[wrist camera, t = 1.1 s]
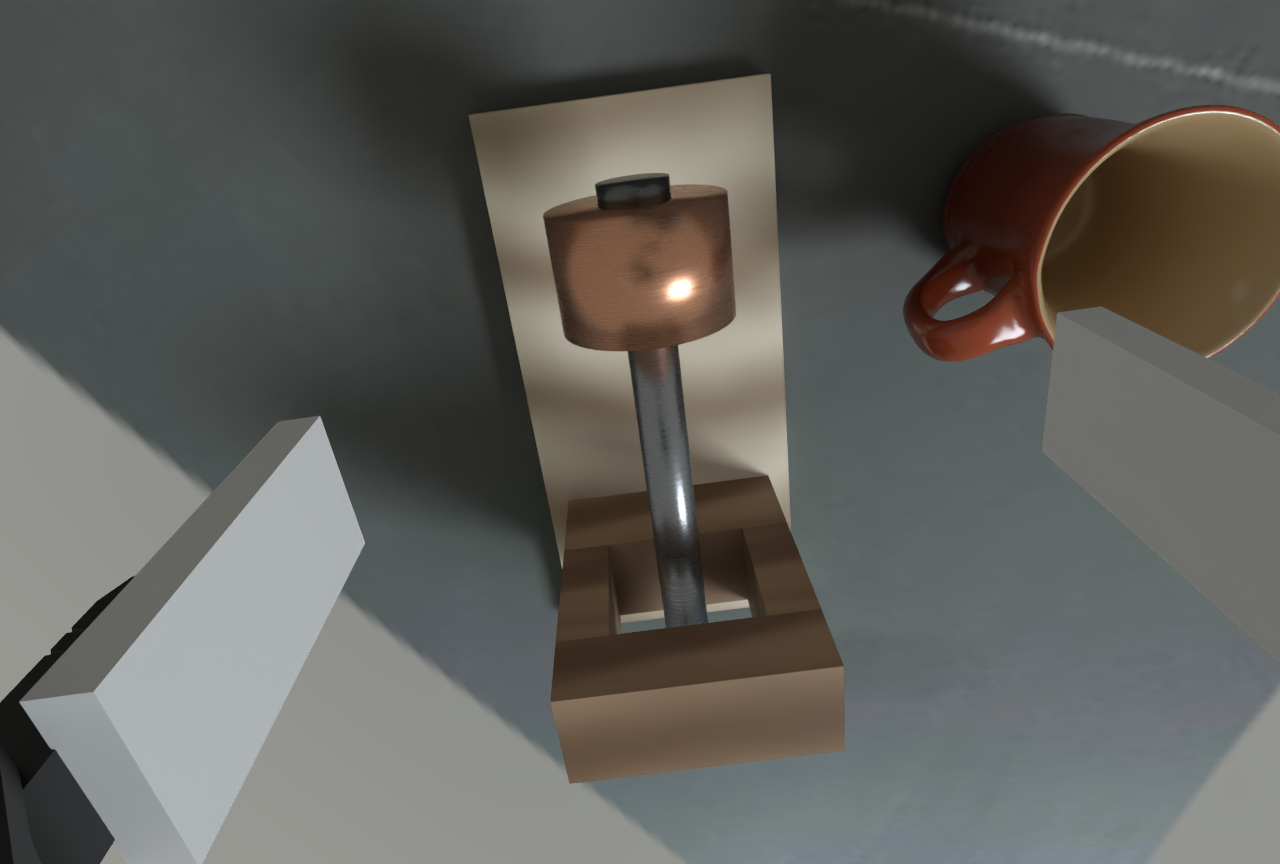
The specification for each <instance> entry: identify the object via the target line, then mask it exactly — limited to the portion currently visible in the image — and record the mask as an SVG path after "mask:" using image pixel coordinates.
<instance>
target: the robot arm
mask: <svg viewBox="0 0 1280 864" xmlns="http://www.w3.org/2000/svg"><path fill="white" fill-rule="evenodd" d="M1042 452H1043V453H1044V454H1045V455H1046V456H1048V457H1049V458H1050V459H1051V460H1052V461H1053V462H1054V463H1055V464H1057V465H1058V466H1059V467H1060V468H1061V469H1062V470H1063V471H1064V472H1066V473H1067V474H1068V475H1069V476H1070V477H1071V478H1072V479H1073V480H1074V481H1076V482H1077V483H1078V484H1079V485H1080V486H1081V487H1082V488H1083V489H1085V490H1086V491H1087V492H1088V493H1089V494H1090V495H1091V496H1092V497H1094V498H1095V499H1096V500H1097V501H1098V502H1099V503H1100V504H1101V505H1103V506H1104V507H1105V508H1106V509H1107V510H1108V511H1109V512H1110V513H1112V514H1113V515H1114V516H1115V517H1116V518H1117V519H1118V520H1119V521H1121V522H1122V523H1123V524H1124V525H1125V526H1126V527H1127V528H1128V529H1130V530H1131V531H1132V532H1133V533H1134V534H1135V535H1136V536H1137V537H1139V538H1140V539H1141V540H1142V541H1143V542H1144V543H1145V544H1146V545H1147V546H1149V547H1150V548H1151V549H1152V550H1153V551H1154V552H1155V553H1156V554H1158V555H1159V556H1160V557H1161V558H1162V559H1163V560H1164V561H1165V562H1167V563H1168V564H1169V565H1170V566H1171V567H1172V568H1173V569H1174V570H1176V571H1177V572H1178V573H1179V574H1180V575H1181V576H1182V577H1183V578H1185V579H1186V580H1187V581H1188V582H1189V583H1190V584H1191V585H1192V586H1194V587H1195V588H1196V589H1197V590H1198V591H1199V592H1200V593H1201V594H1203V595H1204V596H1205V597H1206V598H1207V599H1208V600H1209V601H1210V602H1212V603H1213V604H1214V605H1215V606H1216V607H1217V608H1218V609H1219V610H1220V611H1222V612H1223V613H1224V614H1225V615H1226V616H1227V617H1228V618H1229V619H1231V620H1232V621H1233V622H1234V623H1235V624H1236V625H1237V626H1238V627H1240V628H1241V629H1242V630H1243V631H1244V632H1245V633H1246V634H1247V635H1249V636H1250V637H1251V638H1252V639H1253V640H1254V641H1255V642H1256V643H1258V644H1259V645H1260V646H1261V647H1262V648H1263V649H1264V650H1265V651H1267V652H1268V653H1269V654H1270V655H1271V656H1272V657H1273V658H1274V659H1276V660H1277V661H1278V662H1279V663H1280V394H1279V393H1277V392H1275V391H1273V390H1271V389H1269V388H1267V387H1265V386H1263V385H1261V384H1259V383H1257V382H1255V381H1253V380H1251V379H1249V378H1247V377H1245V376H1243V375H1241V374H1239V373H1237V372H1234V371H1232V370H1230V369H1228V368H1226V367H1224V366H1222V365H1220V364H1218V363H1216V362H1214V361H1212V360H1210V359H1208V358H1206V357H1204V356H1202V355H1200V354H1198V353H1196V352H1194V351H1192V350H1189V349H1187V348H1185V347H1183V346H1181V345H1179V344H1177V343H1175V342H1173V341H1171V340H1169V339H1167V338H1165V337H1163V336H1161V335H1159V334H1157V333H1155V332H1153V331H1151V330H1149V329H1147V328H1145V327H1142V326H1140V325H1138V324H1136V323H1134V322H1132V321H1130V320H1128V319H1126V318H1124V317H1122V316H1120V315H1118V314H1116V313H1114V312H1112V311H1110V310H1108V309H1106V308H1104V307H1102V306H1100V307H1093V308H1086V309H1079V310H1072V311H1065V312H1058V313H1057V319H1056V328H1055V337H1054V346H1053V355H1052V364H1051V373H1050V382H1049V391H1048V400H1047V409H1046V418H1045V427H1044V436H1043V445H1042ZM364 544H365V542H364V539H363V536H362V533H361V530H360V528H359V525H358V522H357V519H356V516H355V513H354V511H353V508H352V505H351V502H350V499H349V496H348V494H347V491H346V488H345V485H344V482H343V479H342V477H341V474H340V471H339V468H338V465H337V462H336V460H335V457H334V454H333V451H332V448H331V445H330V443H329V440H328V437H327V434H326V431H325V428H324V426H323V423H322V420H321V417H320V416H315V417H308V418H300V419H293V420H286V421H279V422H277V423H276V424H275V425H274V427H273V428H272V429H271V430H270V431H269V432H268V433H267V434H266V435H265V436H264V437H263V438H262V440H261V441H260V442H259V443H258V444H257V445H256V446H255V447H254V448H253V449H252V450H251V451H250V453H249V454H248V455H247V456H246V457H245V458H244V459H243V460H242V461H241V462H240V463H239V464H238V465H237V467H236V468H235V469H234V470H233V471H232V472H231V473H230V474H229V475H228V476H227V477H226V478H225V480H224V481H223V482H222V483H221V484H220V485H219V486H218V487H217V488H216V489H215V490H214V491H213V493H212V494H211V495H210V496H209V497H208V498H207V499H206V500H205V501H204V502H203V503H202V505H201V506H200V507H199V508H198V509H197V510H196V511H195V512H194V513H193V514H192V515H191V516H190V517H189V518H188V520H187V521H186V522H185V523H184V524H183V525H182V526H181V527H180V528H179V529H178V530H177V532H176V533H175V534H174V535H173V536H172V537H171V538H170V539H169V540H168V541H167V543H165V544H164V546H163V547H162V548H161V549H160V550H159V551H158V552H157V553H156V554H155V555H154V556H153V557H152V559H151V560H150V561H149V562H148V563H147V564H146V565H145V566H144V567H143V568H142V569H141V571H140V572H139V573H138V574H137V575H136V576H133V577H131V578H130V579H128V580H127V581H125V582H124V583H122V584H121V585H120V586H118V587H117V588H115V589H114V590H112V591H111V592H110V593H108V594H107V595H105V596H104V597H102V598H101V599H99V600H98V601H97V602H96V603H95V604H94V605H93V606H92V607H91V608H90V609H89V610H88V611H87V612H86V613H85V614H84V615H83V616H82V617H81V618H80V619H79V621H78V622H77V623H76V624H75V625H74V626H73V627H72V632H71V633H66V634H65V635H64V636H63V637H62V638H61V639H60V640H59V641H58V643H57V644H56V645H55V646H54V647H53V648H52V649H51V655H46V656H44V657H43V658H42V659H41V660H40V661H39V663H38V664H37V665H36V666H35V667H34V668H33V669H32V670H31V671H30V672H29V673H28V674H27V675H26V676H25V677H24V678H23V679H22V680H21V681H20V683H18V685H17V686H16V687H15V688H14V689H13V690H12V691H11V692H10V693H9V694H8V695H7V696H6V697H5V698H4V699H3V700H2V701H1V703H0V864H100V862H101V861H102V859H103V858H104V856H105V855H106V853H107V851H108V850H109V848H110V847H111V845H112V844H113V843H114V845H115V846H116V848H117V849H118V851H119V852H120V854H121V855H122V857H123V858H124V860H125V861H126V862H127V864H202V863H203V861H204V859H205V857H206V855H207V853H208V851H209V849H210V847H211V845H212V844H213V841H214V840H215V838H216V836H217V833H218V832H219V830H220V828H221V826H222V824H223V822H224V820H225V818H226V816H227V814H228V812H229V810H230V808H231V806H232V804H233V802H234V800H235V798H236V796H237V794H238V792H239V790H240V788H241V786H242V784H243V782H244V780H245V778H246V776H247V775H248V773H249V771H250V769H251V767H252V764H253V763H254V761H255V759H256V756H257V755H258V753H259V751H260V749H261V747H262V745H263V743H264V741H265V739H266V737H267V735H268V733H269V731H270V729H271V727H272V725H273V723H274V721H275V719H276V718H277V716H278V714H279V712H280V710H281V708H282V706H283V704H284V702H285V700H286V698H287V696H288V694H289V692H290V690H291V688H292V686H293V684H294V682H295V680H296V678H297V676H298V674H299V672H300V670H301V668H302V666H303V664H304V662H305V660H306V658H307V656H308V654H309V653H310V650H311V649H312V647H313V645H314V643H315V641H316V639H317V637H318V635H319V633H320V631H321V629H322V627H323V625H324V623H325V621H326V619H327V617H328V615H329V613H330V611H331V609H332V607H333V605H334V603H335V601H336V599H337V597H338V595H339V593H340V591H341V589H342V588H343V586H344V584H345V582H346V580H347V578H348V576H349V574H350V572H351V570H352V568H353V566H354V564H355V562H356V560H357V558H358V556H359V554H360V552H361V550H362V548H363V546H364Z"/></svg>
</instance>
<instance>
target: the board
mask: <svg viewBox="0 0 1280 864" xmlns="http://www.w3.org/2000/svg"><path fill="white" fill-rule="evenodd" d="M469 120H470V125H471V130H472V135H473V140H474V144H475V149H476V154H477V159H478V164H479V169H480V174H481V178H482V183H483V188H484V193H485V198H486V203H487V207H488V212H489V217H490V222H491V227H492V232H493V236H494V241H495V246H496V251H497V256H498V261H499V266H500V270H501V275H502V280H503V285H504V290H505V295H506V299H507V304H508V309H509V314H510V319H511V324H512V329H513V333H514V338H515V343H516V348H517V353H518V358H519V362H520V367H521V372H522V377H523V382H524V387H525V392H526V396H527V401H528V406H529V411H530V416H531V421H532V425H533V430H534V435H535V440H536V445H537V450H538V455H539V459H540V464H541V469H542V474H543V479H544V484H545V488H546V493H547V498H548V503H549V508H550V513H551V518H552V522H553V527H554V532H555V537H556V542H557V547H558V551H559V556H560V561H561V566H562V568H563V557H564V545H565V534H566V523H567V512H568V501H572V500H580V499H588V498H595V497H603V496H611V495H619V494H627V493H634V492H642V491H647V488H646V481H645V474H644V466H643V459H642V452H641V445H640V438H639V431H638V423H637V416H636V409H635V402H634V395H633V388H632V380H631V373H630V366H629V359H628V352H627V351H618V352H617V351H600V350H592V349H587V348H583V347H579V346H577V345H574V344H572V343H570V342H569V341H568V340H567V339H566V338H565V336H564V333H563V327H562V322H561V316H560V310H559V305H558V299H557V293H556V288H555V282H554V276H553V270H552V265H551V259H550V253H549V248H548V242H547V236H546V231H545V225H544V219H543V214H544V213H545V212H546V211H547V210H549V209H551V208H553V207H555V206H558V205H561V204H563V203H567V202H570V201H573V200H577V199H581V198H585V197H589V196H594V195H596V190H595V184H596V183H598V182H600V181H604V180H607V179H611V178H616V177H622V176H628V175H635V174H645V173H666V174H669V178H670V185H684V184H698V185H713V186H719V187H722V188H725V189H726V190H727V191H728V203H729V217H730V231H731V245H732V259H733V273H734V287H735V301H736V316H735V318H734V320H733V321H732V322H731V323H730V324H729V325H728V326H726V327H725V328H723V329H721V330H720V331H718V332H716V333H714V334H711V335H709V336H707V337H704V338H701V339H698V340H695V341H692V342H688V343H684V344H680V345H678V349H679V358H680V367H681V376H682V386H683V395H684V404H685V413H686V423H687V432H688V441H689V450H690V460H691V469H692V478H693V485H697V484H705V483H713V482H721V481H728V480H736V479H744V478H752V477H760V476H767V475H768V476H769V478H770V481H771V483H772V486H773V488H774V491H775V493H776V496H777V498H778V501H779V504H780V506H781V509H782V511H783V514H784V516H785V519H786V521H787V524H788V526H789V529H790V531H791V519H790V496H789V474H788V451H787V429H786V406H785V384H784V362H783V339H782V317H781V294H780V272H779V249H778V227H777V204H776V182H775V160H774V137H773V115H772V92H771V74H758V75H751V76H743V77H736V78H729V79H722V80H714V81H707V82H700V83H693V84H685V85H678V86H671V87H664V88H656V89H649V90H642V91H635V92H627V93H620V94H613V95H606V96H598V97H591V98H584V99H577V100H569V101H562V102H555V103H547V104H540V105H533V106H526V107H518V108H511V109H504V110H497V111H489V112H482V113H475V114H471V115H469ZM746 607H750V606H749V603H748V600H740V601H732V602H724V603H716V604H708V605H706V608H707V612H713V611H721V610H729V609H738V608H746ZM657 618H665V617H664V610H660V611H652V612H644V613H636V614H628V615H621V623H625V622H633V621H641V620H649V619H657Z"/></svg>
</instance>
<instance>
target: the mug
mask: <svg viewBox="0 0 1280 864" xmlns="http://www.w3.org/2000/svg"><path fill="white" fill-rule="evenodd" d="M942 222H943V229H944V235H945V239H946V243H947V246H948V248H949V250H950V251H949V252H948V253H946V254H945V255H944V256H943V257H942V258H941V259H940V260H939V261H938V262H937V263H936V264H935V265H934V266H933V267H932V268H931V269H930V270H929V271H928V272H927V273H926V274H925V275H924V276H923V277H922V278H921V279H920V280H919V281H918V282H917V283H916V284H915V285H914V286H913V287H912V289H911V290H910V291H909V293H908V295H907V296H906V299H905V302H904V306H903V316H904V320H905V323H906V326H907V328H908V331H909V333H910V335H911V337H912V339H913V340H914V342H915V343H916V344H917V346H918V347H919V348H920V349H921V350H922V351H923V352H924V353H926V354H927V355H929V356H931V357H932V358H934V359H937V360H940V361H950V362H952V361H962V360H968V359H971V358H975V357H978V356H981V355H984V354H986V353H988V352H991V351H993V350H996V349H998V348H1001V347H1003V346H1007V345H1011V344H1016V343H1020V342H1023V341H1026V340H1028V339H1031V338H1034V337H1041V338H1044V339H1045V340H1046V342H1047V343H1048V344H1049V346H1050V347H1051V348H1052V350H1053V346H1054V337H1055V328H1056V319H1057V313H1058V312H1065V311H1072V310H1079V309H1086V308H1093V307H1100V306H1102V307H1104V308H1106V309H1108V310H1110V311H1112V312H1114V313H1116V314H1118V315H1120V316H1122V317H1124V318H1126V319H1128V320H1130V321H1132V322H1134V323H1136V324H1138V325H1140V326H1142V327H1145V328H1147V329H1149V330H1151V331H1153V332H1155V333H1157V334H1159V335H1161V336H1163V337H1165V338H1167V339H1169V340H1171V341H1173V342H1175V343H1177V344H1179V345H1181V346H1183V347H1185V348H1187V349H1189V350H1192V351H1194V352H1196V353H1198V354H1200V355H1202V356H1204V357H1206V358H1210V357H1212V356H1214V355H1215V354H1217V353H1218V352H1220V351H1222V350H1223V349H1225V348H1226V347H1228V346H1229V345H1230V344H1232V343H1233V342H1235V341H1236V340H1237V339H1238V338H1239V337H1241V336H1242V335H1243V334H1244V333H1246V332H1247V331H1248V330H1249V329H1250V328H1251V327H1252V326H1253V325H1254V324H1255V323H1256V322H1257V321H1258V320H1259V319H1260V318H1261V317H1262V316H1263V315H1264V314H1265V313H1266V311H1267V310H1268V309H1269V308H1270V307H1271V305H1272V304H1273V303H1274V302H1275V300H1276V299H1277V298H1278V296H1279V295H1280V127H1279V126H1278V125H1276V124H1275V123H1274V122H1272V121H1270V120H1269V119H1267V118H1265V117H1264V116H1262V115H1259V114H1257V113H1254V112H1252V111H1249V110H1246V109H1242V108H1239V107H1232V106H1226V105H1203V106H1192V107H1187V108H1181V109H1177V110H1173V111H1170V112H1166V113H1163V114H1160V115H1157V116H1155V117H1152V118H1149V119H1147V120H1144V121H1142V122H1139V123H1137V124H1131V123H1126V122H1121V121H1116V120H1109V119H1102V118H1094V117H1088V116H1085V115H1079V114H1068V113H1063V114H1053V115H1047V116H1043V117H1039V118H1036V119H1031V120H1026V121H1022V122H1018V123H1015V124H1012V125H1010V126H1007V127H1005V128H1003V129H1001V130H999V131H997V132H996V133H994V134H992V135H991V136H989V137H988V138H987V139H985V140H984V141H983V142H982V143H981V144H979V145H978V146H977V147H976V148H975V149H974V150H973V151H972V152H971V153H970V154H969V156H968V157H967V158H966V159H965V160H964V162H963V163H962V165H961V166H960V168H959V169H958V171H957V173H956V174H955V176H954V178H953V180H952V182H951V185H950V187H949V190H948V193H947V196H946V200H945V204H944V208H943V215H942ZM981 290H984V291H986V292H988V293H991V294H993V295H995V297H994V298H993V299H992V300H991V301H990V302H989V303H987V304H986V305H985V306H983V307H982V308H980V309H978V310H976V311H974V312H972V313H970V314H968V315H965V316H963V317H960V318H957V319H953V320H949V321H938V320H936V319H934V318H933V316H934V315H935V314H936V312H937V311H938V310H939V309H940V308H941V307H942V306H944V305H945V304H946V303H948V302H950V301H951V300H954V299H956V298H959V297H961V296H964V295H967V294H970V293H974V292H977V291H981Z"/></svg>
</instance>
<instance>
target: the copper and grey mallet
mask: <svg viewBox="0 0 1280 864" xmlns="http://www.w3.org/2000/svg"><path fill="white" fill-rule="evenodd" d="M595 190H596V195H594V196H589V197H585V198H581V199H577V200H573V201H570V202H567V203H563V204H561V205H558V206H555V207H553V208H551V209H549V210H547V211H546V212H545V213H544V214H543V219H544V225H545V231H546V236H547V242H548V248H549V253H550V259H551V265H552V270H553V276H554V282H555V288H556V293H557V299H558V305H559V310H560V316H561V322H562V327H563V333H564V336H565V338H566V339H567V340H568V341H569V342H570V343H572V344H574V345H577V346H579V347H583V348H587V349H592V350H600V351H617V352H618V351H627V352H628V359H629V366H630V373H631V380H632V388H633V395H634V402H635V409H636V416H637V423H638V431H639V438H640V445H641V452H642V459H643V466H644V474H645V481H646V488H647V495H648V502H649V510H650V517H651V524H652V531H653V538H654V545H655V553H656V560H657V567H658V574H659V581H660V589H661V596H662V603H663V610H664V617H665V624H666V628H672V627H680V626H689V625H697V624H705V623H708V617H707V608H706V599H705V589H704V580H703V571H702V562H701V552H700V543H699V534H698V524H697V515H696V506H695V497H694V487H693V478H692V469H691V460H690V450H689V441H688V432H687V423H686V413H685V404H684V395H683V386H682V376H681V367H680V358H679V349H678V345H680V344H684V343H688V342H692V341H695V340H698V339H701V338H704V337H707V336H709V335H711V334H714V333H716V332H718V331H720V330H721V329H723V328H725V327H726V326H728V325H729V324H730V323H731V322H732V321H733V320H734V318H735V316H736V301H735V287H734V273H733V259H732V245H731V231H730V217H729V203H728V191H727V190H726V189H725V188H722V187H719V186H713V185H698V184H684V185H670V178H669V174H666V173H645V174H635V175H628V176H622V177H616V178H611V179H607V180H604V181H600V182H598V183H596V184H595Z"/></svg>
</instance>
